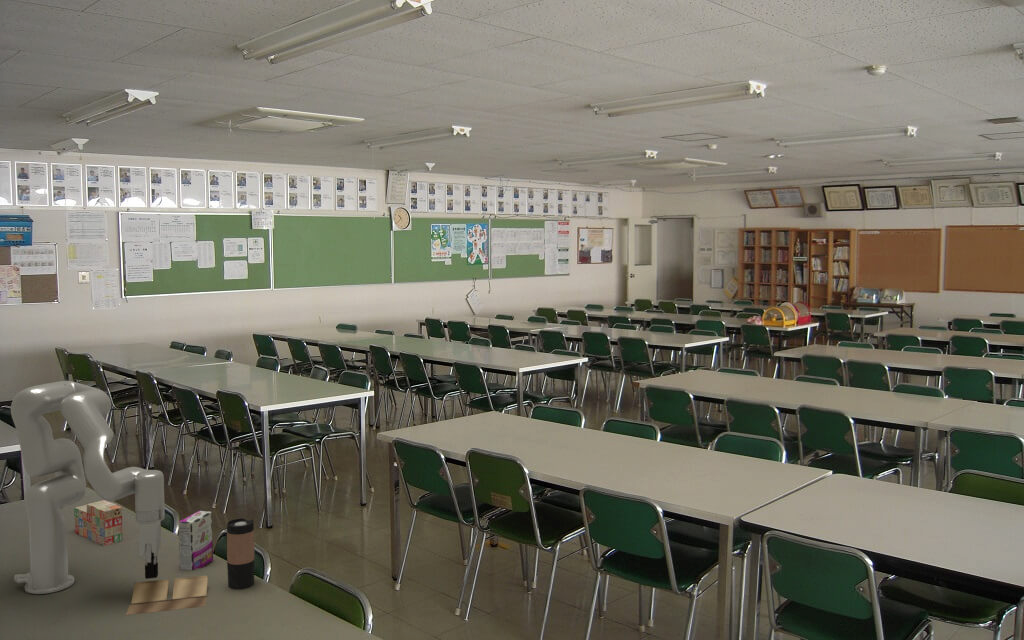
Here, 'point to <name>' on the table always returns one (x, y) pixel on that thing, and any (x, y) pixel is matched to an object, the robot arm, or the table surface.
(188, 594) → the plank
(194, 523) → the candy bar box
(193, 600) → the laid board
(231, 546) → the travel mug
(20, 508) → the table surface
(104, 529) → the stack of blocks
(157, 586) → the plank
